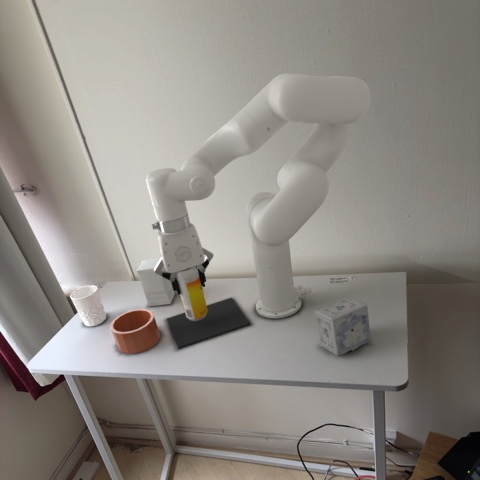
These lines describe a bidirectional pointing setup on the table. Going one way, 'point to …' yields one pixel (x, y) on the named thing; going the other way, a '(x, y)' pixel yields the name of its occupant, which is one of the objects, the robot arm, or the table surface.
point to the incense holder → (343, 326)
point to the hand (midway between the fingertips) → (190, 288)
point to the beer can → (192, 293)
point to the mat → (207, 323)
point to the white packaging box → (155, 284)
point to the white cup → (89, 305)
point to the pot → (135, 331)
